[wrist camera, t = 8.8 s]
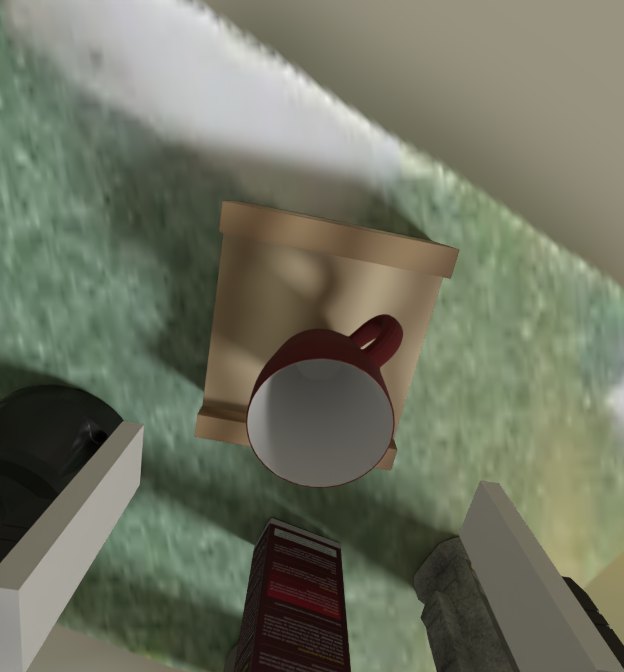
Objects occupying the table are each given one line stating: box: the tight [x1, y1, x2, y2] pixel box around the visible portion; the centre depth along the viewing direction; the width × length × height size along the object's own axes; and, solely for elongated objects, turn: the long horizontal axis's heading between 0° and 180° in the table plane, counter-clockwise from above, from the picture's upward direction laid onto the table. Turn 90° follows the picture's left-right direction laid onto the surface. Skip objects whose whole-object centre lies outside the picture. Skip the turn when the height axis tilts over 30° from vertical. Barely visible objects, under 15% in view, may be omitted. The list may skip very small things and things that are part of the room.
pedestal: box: [195, 201, 459, 470], centre depth 32 cm, size 16×18×6 cm
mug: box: [246, 314, 403, 488], centre depth 26 cm, size 10×8×10 cm
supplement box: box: [234, 518, 351, 672], centre depth 35 cm, size 9×5×16 cm, turn 64°
